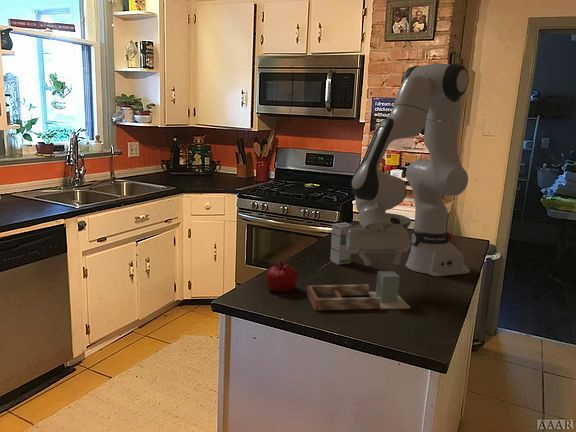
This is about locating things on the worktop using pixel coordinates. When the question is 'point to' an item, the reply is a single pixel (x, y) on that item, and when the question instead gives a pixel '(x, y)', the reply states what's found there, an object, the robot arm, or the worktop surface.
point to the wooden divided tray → (346, 302)
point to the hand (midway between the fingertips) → (382, 264)
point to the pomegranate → (281, 278)
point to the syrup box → (339, 245)
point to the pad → (392, 303)
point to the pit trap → (319, 296)
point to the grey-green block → (387, 286)
